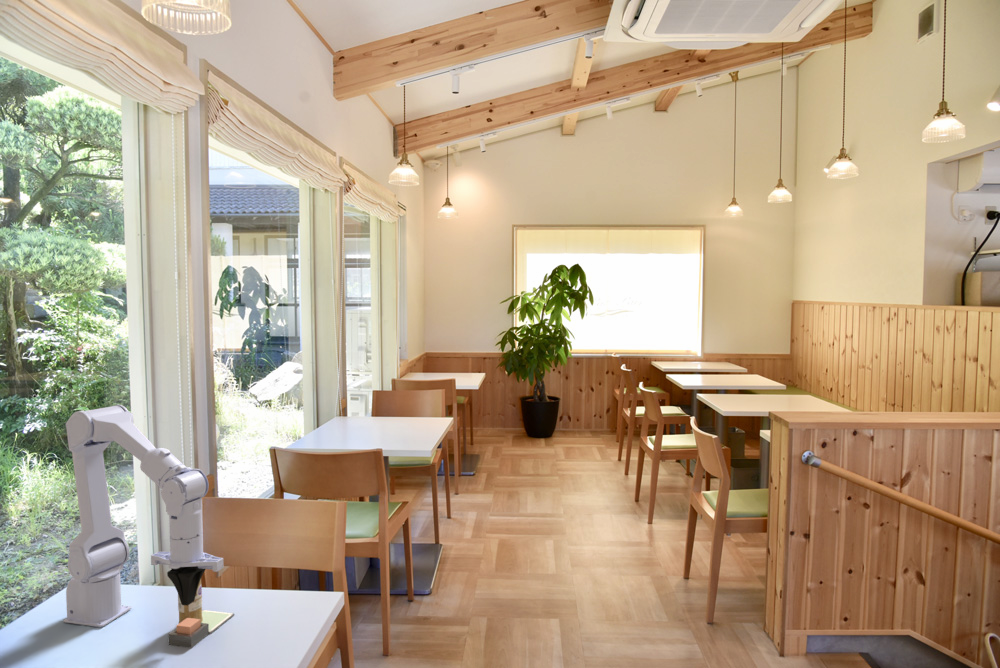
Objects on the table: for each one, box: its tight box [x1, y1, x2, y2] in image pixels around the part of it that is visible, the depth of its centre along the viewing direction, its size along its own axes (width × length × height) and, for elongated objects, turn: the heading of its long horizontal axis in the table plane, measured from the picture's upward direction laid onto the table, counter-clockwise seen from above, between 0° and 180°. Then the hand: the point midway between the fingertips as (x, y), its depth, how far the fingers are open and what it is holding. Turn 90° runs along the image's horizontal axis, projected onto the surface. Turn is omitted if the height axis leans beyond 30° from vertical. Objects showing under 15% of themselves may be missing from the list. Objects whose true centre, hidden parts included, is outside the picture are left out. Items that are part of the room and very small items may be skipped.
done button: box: [175, 618, 201, 635], centre depth 122 cm, size 3×3×2 cm
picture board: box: [201, 609, 235, 635], centre depth 129 cm, size 8×8×1 cm
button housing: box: [167, 623, 210, 649], centre depth 123 cm, size 5×5×2 cm
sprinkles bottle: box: [177, 578, 203, 625], centre depth 128 cm, size 5×5×14 cm
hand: (188, 602), depth 122 cm, fingers closed
